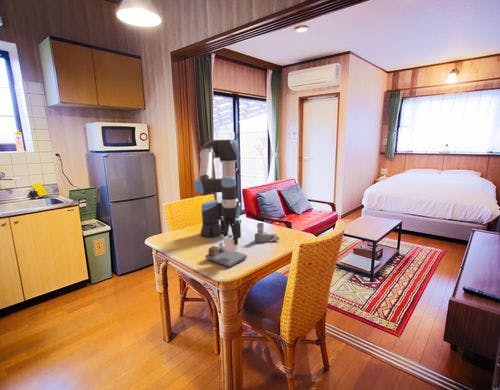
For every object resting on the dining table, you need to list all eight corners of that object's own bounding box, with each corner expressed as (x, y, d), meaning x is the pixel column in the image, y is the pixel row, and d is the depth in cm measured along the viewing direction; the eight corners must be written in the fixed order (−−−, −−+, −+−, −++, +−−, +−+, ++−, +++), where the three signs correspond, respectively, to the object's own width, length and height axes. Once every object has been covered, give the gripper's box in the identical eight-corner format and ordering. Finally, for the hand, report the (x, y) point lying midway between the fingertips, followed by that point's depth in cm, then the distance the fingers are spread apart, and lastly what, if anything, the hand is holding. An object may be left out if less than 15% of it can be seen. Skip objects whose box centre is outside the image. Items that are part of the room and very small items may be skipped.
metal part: (217, 251, 156) (217, 244, 156) (222, 249, 159) (221, 242, 158) (222, 252, 154) (221, 246, 153) (226, 250, 157) (226, 244, 156)
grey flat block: (205, 259, 151) (205, 255, 151) (223, 251, 162) (223, 247, 161) (229, 268, 140) (229, 264, 140) (247, 259, 151) (246, 255, 150)
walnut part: (208, 255, 151) (208, 248, 150) (212, 252, 154) (212, 246, 153) (215, 256, 149) (214, 249, 148) (218, 253, 153) (218, 247, 152)
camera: (253, 222, 179) (275, 220, 182) (253, 239, 181) (275, 237, 184) (257, 226, 170) (280, 224, 174) (257, 244, 173) (279, 242, 176)
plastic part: (224, 249, 147) (223, 235, 145) (230, 247, 150) (230, 233, 149) (231, 252, 143) (230, 237, 142) (237, 249, 147) (237, 235, 146)
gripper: (212, 205, 146) (214, 247, 150) (237, 210, 134) (239, 255, 138) (222, 203, 151) (224, 243, 155) (247, 207, 140) (248, 250, 144)
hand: (231, 249), depth 147 cm, fingers closed on plastic part, 5 cm apart
